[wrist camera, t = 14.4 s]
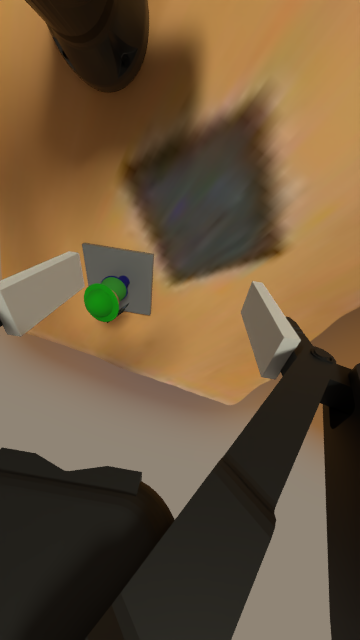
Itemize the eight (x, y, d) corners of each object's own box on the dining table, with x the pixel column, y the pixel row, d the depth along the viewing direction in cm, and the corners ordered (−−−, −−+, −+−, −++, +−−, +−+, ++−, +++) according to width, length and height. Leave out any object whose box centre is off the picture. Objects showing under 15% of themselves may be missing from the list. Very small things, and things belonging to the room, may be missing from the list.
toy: (120, 302, 56) (96, 333, 43) (97, 279, 52) (65, 306, 40) (142, 286, 52) (122, 315, 40) (119, 260, 49) (90, 283, 36)
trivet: (84, 242, 48) (81, 243, 47) (153, 253, 48) (152, 255, 47) (93, 303, 58) (91, 305, 57) (150, 313, 58) (150, 315, 57)
